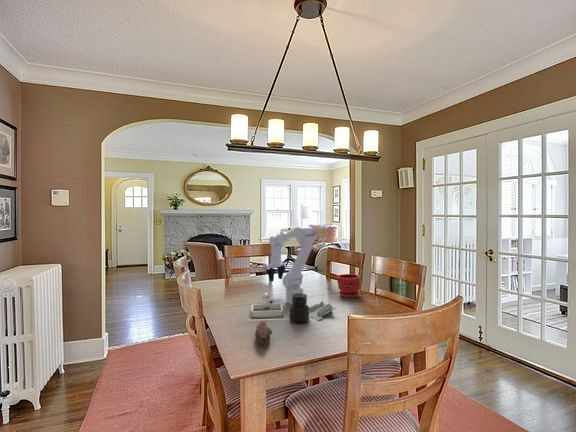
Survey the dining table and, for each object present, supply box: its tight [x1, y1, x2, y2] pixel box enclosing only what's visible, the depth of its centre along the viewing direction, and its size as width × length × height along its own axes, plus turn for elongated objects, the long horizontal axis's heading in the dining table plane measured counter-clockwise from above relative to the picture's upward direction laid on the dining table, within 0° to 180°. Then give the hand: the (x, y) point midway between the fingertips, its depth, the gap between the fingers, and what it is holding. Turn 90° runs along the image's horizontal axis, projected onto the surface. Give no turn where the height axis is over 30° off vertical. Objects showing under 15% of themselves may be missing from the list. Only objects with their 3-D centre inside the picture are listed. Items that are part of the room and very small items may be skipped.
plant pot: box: [336, 273, 361, 298], centre depth 189 cm, size 13×13×12 cm
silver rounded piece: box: [261, 292, 272, 311], centre depth 156 cm, size 4×4×10 cm
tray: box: [250, 302, 284, 320], centre depth 155 cm, size 15×12×4 cm
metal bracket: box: [309, 300, 336, 322], centre depth 156 cm, size 14×6×15 cm
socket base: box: [259, 299, 275, 304], centre depth 167 cm, size 8×8×2 cm
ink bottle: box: [289, 293, 310, 325], centre depth 146 cm, size 10×9×12 cm
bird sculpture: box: [254, 320, 273, 349], centre depth 125 cm, size 7×25×5 cm, turn 8°
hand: (275, 279), depth 185 cm, fingers open, 7 cm apart
